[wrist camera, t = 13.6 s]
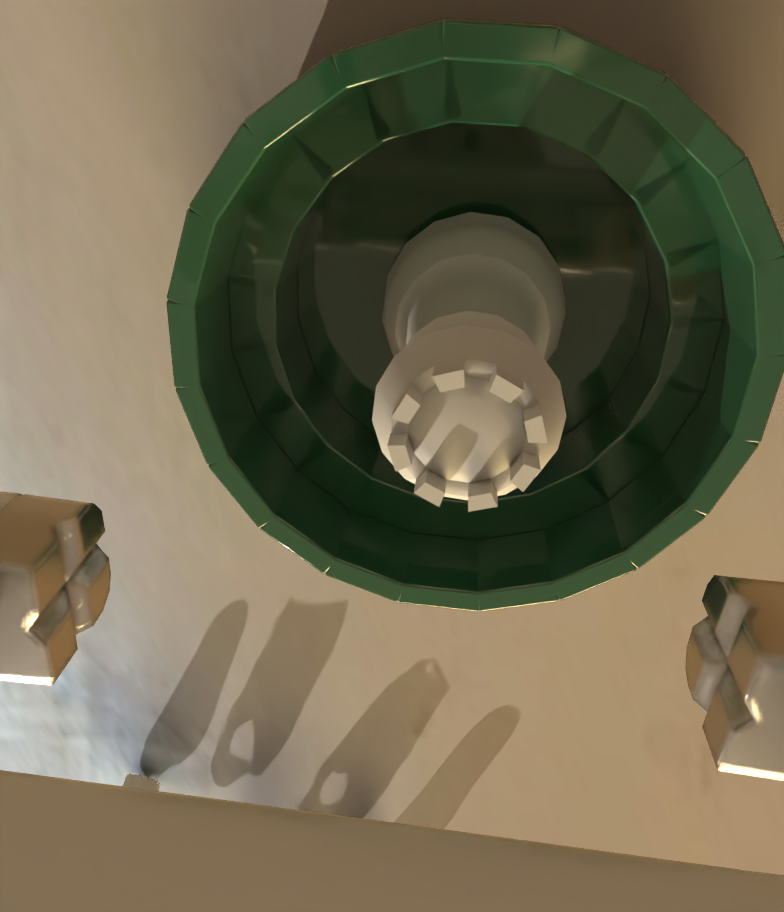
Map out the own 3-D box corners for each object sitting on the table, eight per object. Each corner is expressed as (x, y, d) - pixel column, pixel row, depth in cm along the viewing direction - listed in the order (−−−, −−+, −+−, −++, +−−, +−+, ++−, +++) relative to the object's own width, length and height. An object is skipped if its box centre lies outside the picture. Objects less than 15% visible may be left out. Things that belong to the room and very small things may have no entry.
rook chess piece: (476, 413, 20) (471, 602, 13) (350, 305, 19) (273, 447, 12) (601, 294, 18) (674, 440, 11) (470, 166, 17) (459, 240, 10)
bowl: (227, 16, 17) (136, 0, 12) (781, 47, 16) (893, 43, 12) (248, 479, 23) (191, 580, 18) (655, 521, 22) (697, 637, 17)
